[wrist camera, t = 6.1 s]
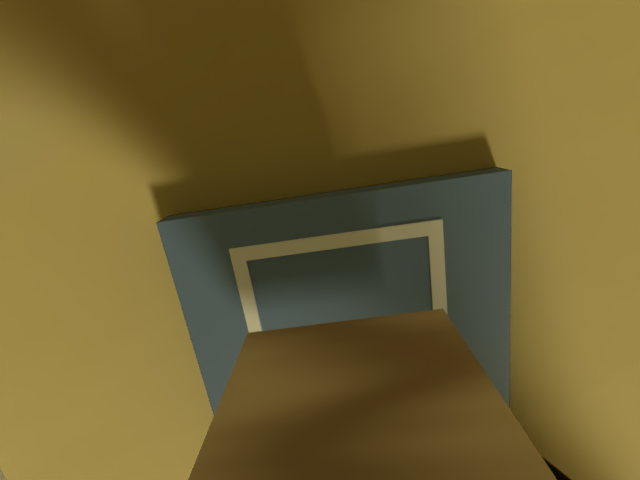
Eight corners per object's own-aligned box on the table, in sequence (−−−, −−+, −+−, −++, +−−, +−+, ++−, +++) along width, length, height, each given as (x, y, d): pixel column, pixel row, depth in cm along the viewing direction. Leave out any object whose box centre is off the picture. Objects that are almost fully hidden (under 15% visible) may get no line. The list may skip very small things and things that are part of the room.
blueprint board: (496, 167, 12) (513, 170, 11) (498, 617, 19) (508, 644, 18) (169, 215, 13) (154, 223, 12) (287, 631, 20) (285, 658, 19)
